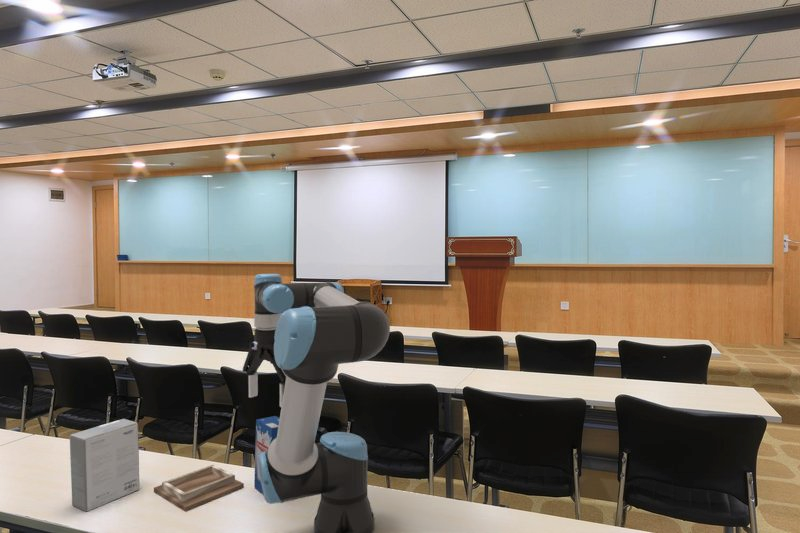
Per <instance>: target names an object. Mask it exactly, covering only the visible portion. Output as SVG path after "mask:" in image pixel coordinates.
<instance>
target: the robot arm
mask: <svg viewBox="0 0 800 533" xmlns="http://www.w3.org/2000/svg"><path fill="white" fill-rule="evenodd" d="M342 285H343V284H341V283H340V282H331V281H325V282H300V283H299V282H291V283H283V280H282V275H281V274H279V273H259V274H256V275H255V277H254V284H253V288H254V290H253V291H254V318H253V319H254V321H253V322H254V323H253V324H254V325H253V326H254V327H255V329H254V341H252V342H249V345H248V346H249V347H248V352H247V354H246V358H245V360H244V363H243V366H242V371H243V372H244V373H246V375H247V385H248V398H255V397H257V396H258V393H259V384H258V382H259V381H258V380H259V378H258V377H259V374H257V373H258V370H259V368H260V367H261V365H262V363H263V362H264V361H266V362H269V363H270V364H271V365H273V367H274V370H275V371H276V374H277V376H278V377H279V378H278V379H279V380H280V383H279V407H280V408H281V409H280V413H279V414H280V415H279V418H280V420H279V426H278V433H277V438H275V439H274V440H273V441H272V442H271V444H270V446H269V448H268V452H267V451H264V452H262V453H260V454H259V456H258V461H259V470H260V478H261V484H262V490H263V494H264V495H263V494H262V495H263V498H264V500H265V502H266V503H267V504H269V505H272V504H278V503H279V504H283V503H284V502H291V501H294V500H298V499H303V498H309V497H312V496H318V495H320V501H319V503H318V507H317V511H316V515H315V517H314V519H313V532H314V533H373V532H374V531H375V514H374V513H373V510H372V507H371V506H372V505H371V502H370V500H369V495H368V462H369V461H368V460H369V455H368V444H367V443H366V442H367V441H366V440H365V439H364V438H362V436H360V435H357V434H355V433H351V432H345V431H331V432H329V431H328V432H326V433H324V434H322V435H321V436H320V439H319V442H318V443H316V441H315V440H316V438H317V437H316V436H317V431H318V427H319V423H320V417H321V413H322V412H321V411H322V410H323V403H324V398H325V394H326V390H327V384H328V382H330V381H332V380H333V379H334V378H335V376H337V372H338V369H339V365H340V364H351V363H359V362H363V361H366V360H367V361H368V360H369V359H371V358H373V357H375V356H376V355H377V354H379V353H380V352H381V351H382V350H383V349H384V347H385V346H386V343H387V342H388V339H389V336H390V331H391V330H390V329H391V325H390V322H389V318H388V316H387V314H386V313H385V311H383V309H382V308H381V307H379V306H377V305H375V304H374V303H372V302H368V301H358V300H356V299H355V298H353V297H352V296H349V295H348V294H346V293H345V291H344V288H343V286H342Z"/></svg>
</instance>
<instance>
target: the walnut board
mask: <svg viewBox="0 0 800 533" xmlns="http://www.w3.org/2000/svg"><path fill="white" fill-rule="evenodd" d="M244 485H245V483H244V482H241V481H240V480H237V479H236V475H235V474H233V473H231V472H229V471H228V470H225V469H223V468H221V467H219V466H218V465H215V464H211V465H208V466H205V467H202V468H200V469H196V470H194V471H192V472H188V473H186V474H182V475H180V476H177V477H175V478H172V479H169V480H165V481H162V482H161V485H157V486H154V487H153V493H155V494H157V495H158V496H159V497H161V498H163V499H164V500H165V501H168V502H170V503H171V504H173V505H174V506H176V507H177V508H178V509H181V510H182V511H184V512H188V511H190V510H193V509H195V508H197V507H200V506H202V505H205V504H207V503H210V502H211V501H215V500H217V499H219V498H222V497H225V496H226V495H229V494H232V493H234V492H237V491H238V490H241V489H243V488H245V486H244Z"/></svg>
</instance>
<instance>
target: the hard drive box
mask: <svg viewBox="0 0 800 533" xmlns="http://www.w3.org/2000/svg"><path fill="white" fill-rule="evenodd" d="M69 452H70V453H69V455H70V458H69V460H70V481H71V482H70V483H71V505H73V506H72V507H75V508H76V509H79V510H81V511H83V512H86V513H87V512H89V511H92V510H94V509H97V508H99V507H101V506H104V505H106V504H108V503H111V502H113V501H115V500H118V499H119V498H122V497H125V496H128V495H130V494H132V493H134V492H137V491H139V490H140V489H141V488H140V487H141V486H140V456H139V455H140V450H139V423H138V422H136V421H133V420H129V419H126V418H122V419H118V420H114V421H111V422H108V423H104V424H101V425H98V426H95V427H94V426H93V427H91V428H88V429H85V430H81V431H78V432H75V433H72V434H69Z"/></svg>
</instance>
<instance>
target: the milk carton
mask: <svg viewBox="0 0 800 533" xmlns="http://www.w3.org/2000/svg"><path fill="white" fill-rule="evenodd" d="M279 420H280V416H279V417H278V416H277V415H274V416H269V417H263V418H259V419H256V420H255V444H254V445H255V450H254V451H255V452H254V453H255V454H254V480H253V481H254V483H253V484H254V485H253V486H254V487H253V488H254V489H255V490H257V491H258V492H260V493H261V494H262V495H263V496H264V494H263V490H262V484H261V478H260V470H259V461H258V456H259V454H260V453H262V452H264V451H267V452H268V448H269V446H270V444H271V442H272V441H273V440H274V439H275V438H277V433H278V426H279Z"/></svg>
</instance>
